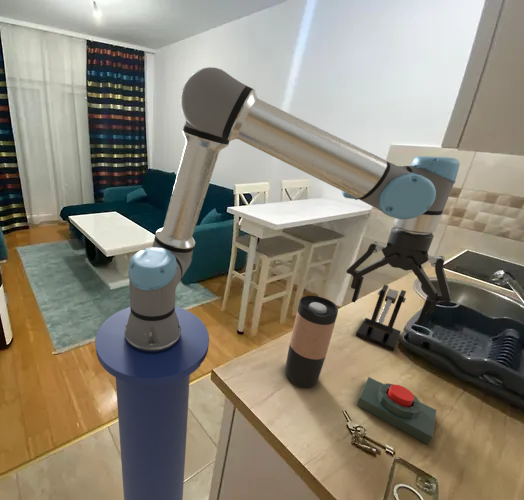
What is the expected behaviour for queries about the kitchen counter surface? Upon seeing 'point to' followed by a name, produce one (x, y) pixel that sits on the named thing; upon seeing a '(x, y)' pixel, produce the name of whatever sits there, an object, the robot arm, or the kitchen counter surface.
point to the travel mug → (310, 340)
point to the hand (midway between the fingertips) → (384, 310)
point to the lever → (384, 313)
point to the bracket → (381, 336)
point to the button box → (398, 411)
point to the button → (401, 395)
